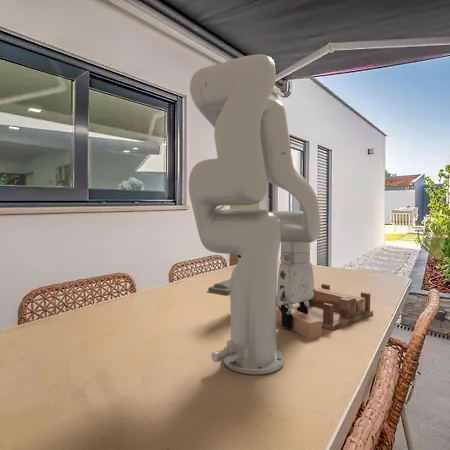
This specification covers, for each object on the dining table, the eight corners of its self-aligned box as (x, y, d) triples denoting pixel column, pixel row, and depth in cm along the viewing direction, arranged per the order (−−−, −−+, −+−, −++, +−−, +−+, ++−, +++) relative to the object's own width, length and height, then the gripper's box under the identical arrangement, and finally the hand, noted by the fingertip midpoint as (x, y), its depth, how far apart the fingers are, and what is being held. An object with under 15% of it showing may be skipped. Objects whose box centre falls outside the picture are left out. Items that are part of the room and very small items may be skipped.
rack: (332, 330, 89) (333, 306, 89) (281, 313, 103) (281, 292, 103) (373, 314, 101) (373, 293, 101) (321, 301, 116) (321, 283, 115)
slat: (321, 336, 86) (321, 320, 86) (309, 339, 84) (309, 323, 84) (282, 317, 100) (282, 304, 100) (271, 320, 98) (271, 306, 98)
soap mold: (256, 285, 141) (256, 277, 141) (229, 296, 124) (229, 287, 124) (235, 282, 147) (235, 274, 146) (206, 292, 130) (206, 283, 130)
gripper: (283, 263, 83) (283, 337, 84) (326, 256, 93) (326, 322, 94) (261, 259, 89) (261, 328, 90) (304, 253, 99) (304, 315, 100)
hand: (294, 324), depth 92 cm, fingers open, 5 cm apart
